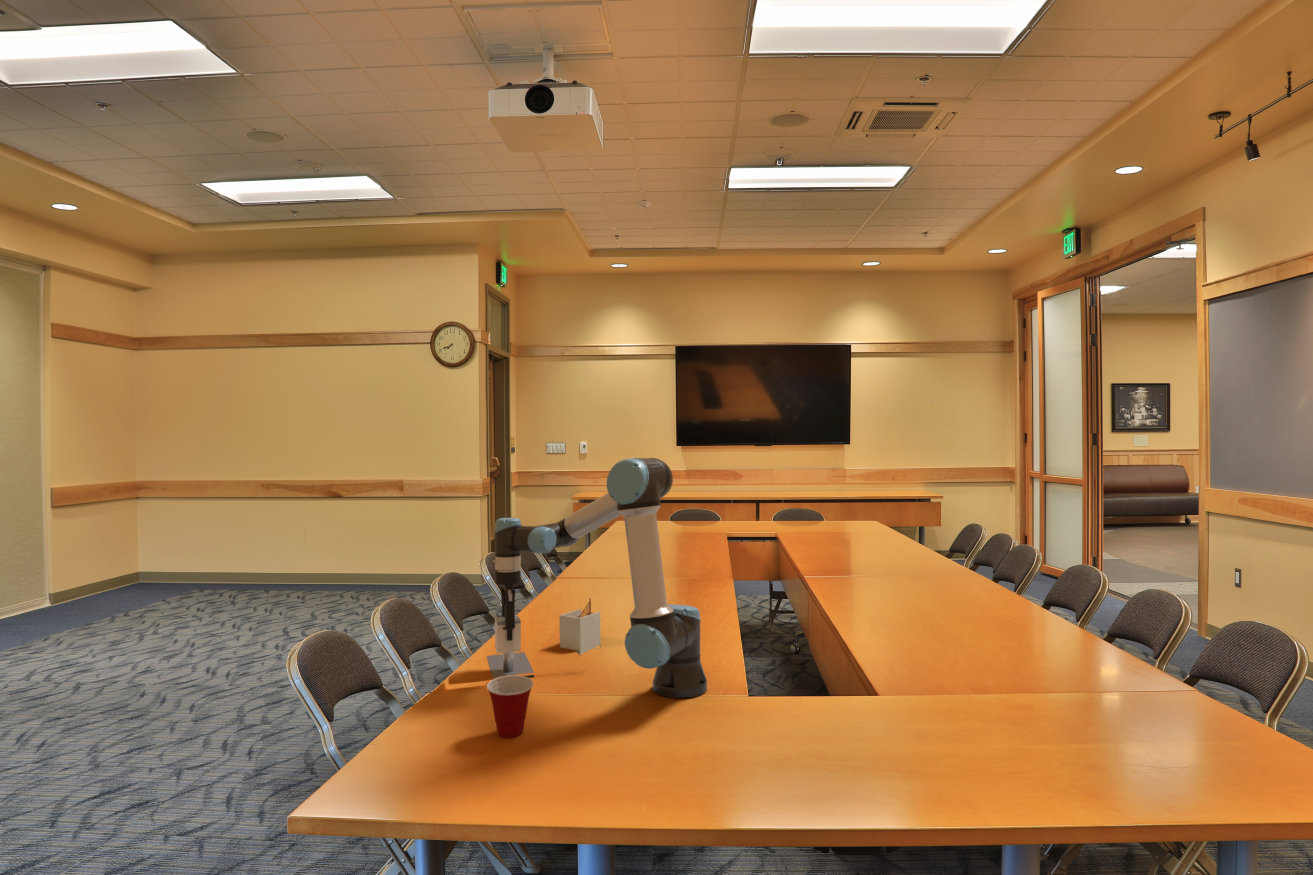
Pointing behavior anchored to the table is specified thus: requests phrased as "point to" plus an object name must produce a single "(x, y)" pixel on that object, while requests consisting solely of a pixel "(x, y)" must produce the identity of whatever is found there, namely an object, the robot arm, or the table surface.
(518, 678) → the plastic cup
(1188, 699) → the table surface
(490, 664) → the post base
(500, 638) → the white block
